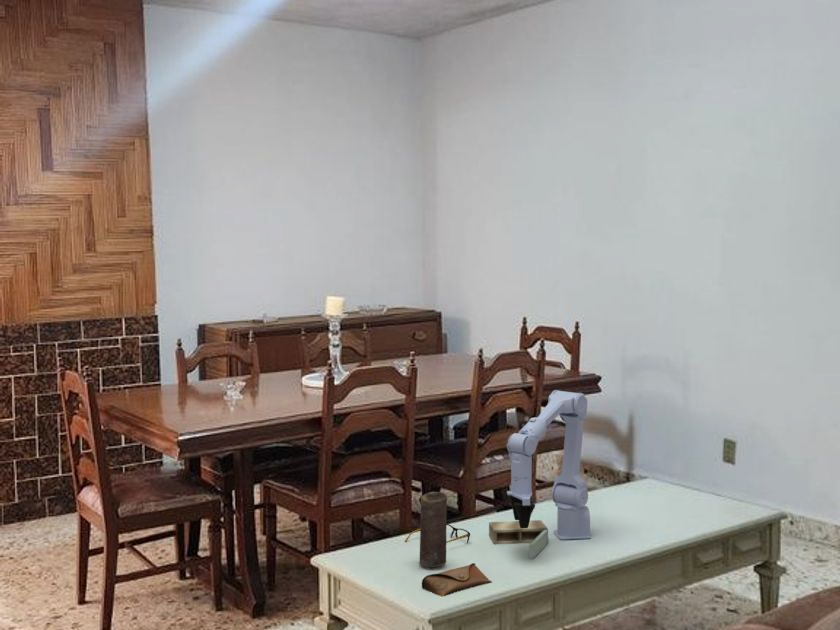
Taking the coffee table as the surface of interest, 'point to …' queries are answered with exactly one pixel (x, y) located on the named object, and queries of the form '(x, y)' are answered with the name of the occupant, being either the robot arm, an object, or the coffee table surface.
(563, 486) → the robot arm
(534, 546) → the sage green panel
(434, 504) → the candle
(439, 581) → the sunglasses case
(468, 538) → the eyeglasses
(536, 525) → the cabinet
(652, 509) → the coffee table surface
